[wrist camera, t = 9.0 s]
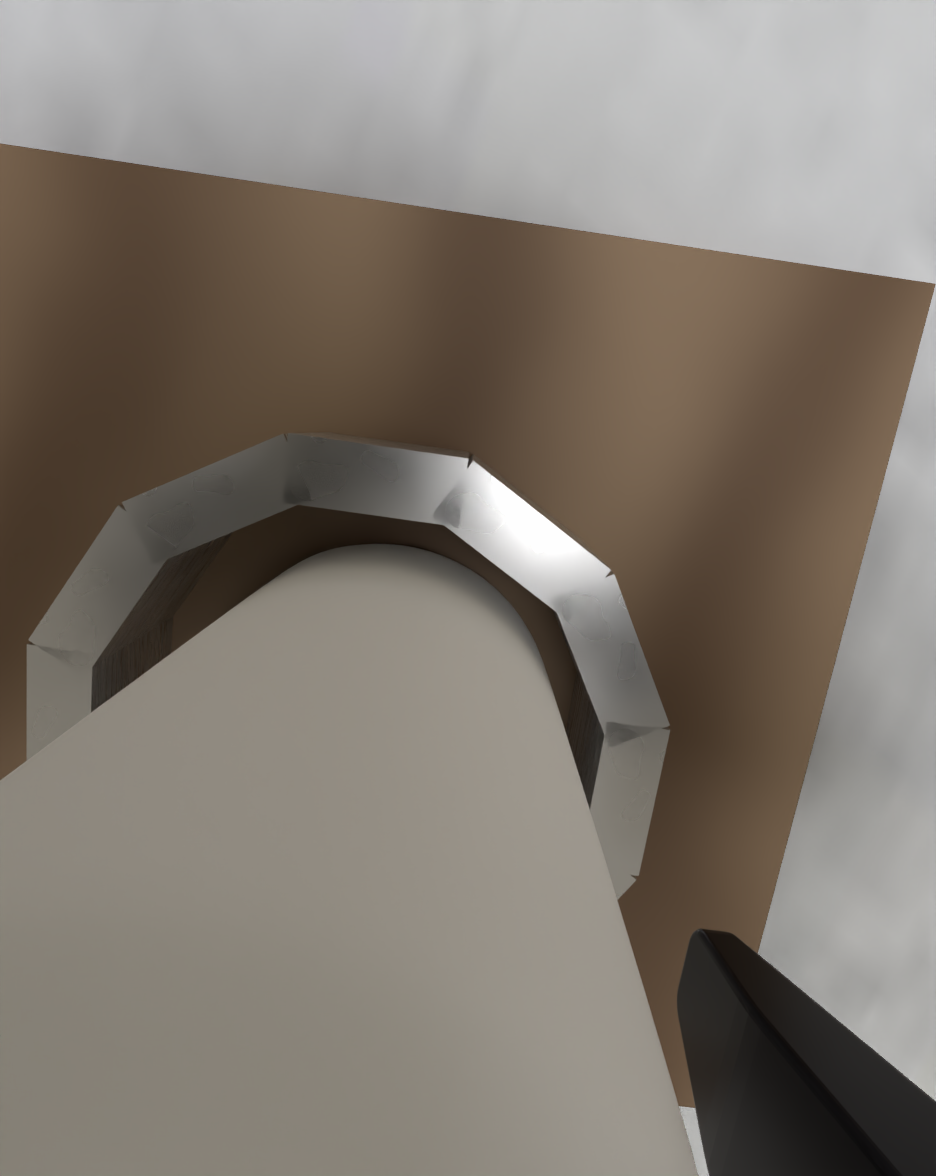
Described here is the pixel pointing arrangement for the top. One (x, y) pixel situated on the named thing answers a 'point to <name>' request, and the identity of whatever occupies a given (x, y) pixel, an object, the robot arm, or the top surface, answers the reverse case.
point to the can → (324, 907)
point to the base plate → (477, 450)
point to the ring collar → (375, 487)
